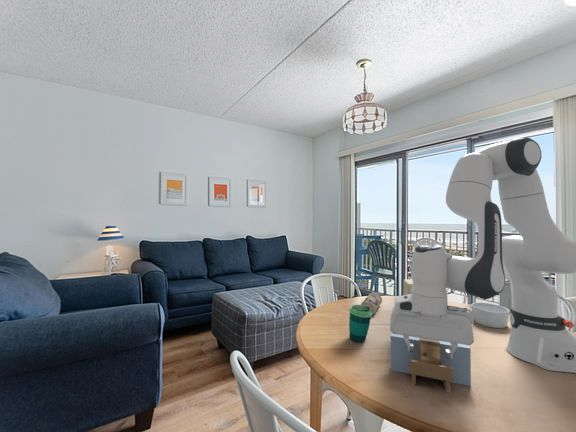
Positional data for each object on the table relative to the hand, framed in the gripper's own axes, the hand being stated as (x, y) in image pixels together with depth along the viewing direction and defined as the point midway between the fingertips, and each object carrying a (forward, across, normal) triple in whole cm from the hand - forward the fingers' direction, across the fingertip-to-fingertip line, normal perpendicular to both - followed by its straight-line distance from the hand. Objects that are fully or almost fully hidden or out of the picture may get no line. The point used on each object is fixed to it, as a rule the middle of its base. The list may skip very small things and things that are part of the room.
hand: (429, 354), depth 74 cm
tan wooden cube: (+4, 0, 0) cm, 4 cm away
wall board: (+7, 0, 0) cm, 7 cm away
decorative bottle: (+8, +22, -53) cm, 57 cm away
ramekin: (+8, -28, -57) cm, 64 cm away
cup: (+8, +21, -19) cm, 29 cm away
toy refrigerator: (+8, +2, -29) cm, 30 cm away
